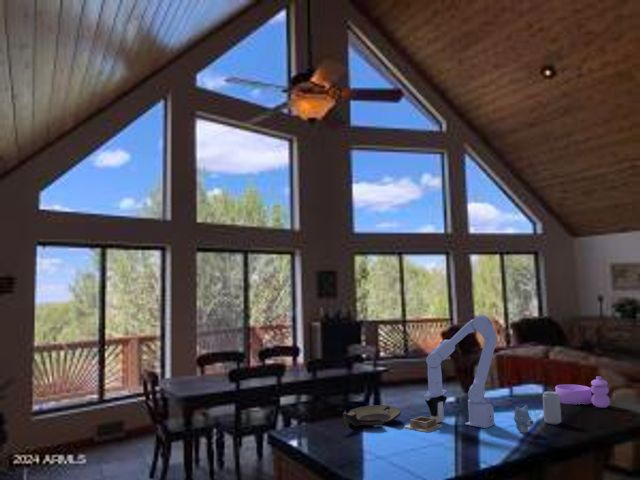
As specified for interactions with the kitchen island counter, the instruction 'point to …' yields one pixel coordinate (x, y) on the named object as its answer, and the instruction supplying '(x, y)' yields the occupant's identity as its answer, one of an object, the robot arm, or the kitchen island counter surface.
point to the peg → (439, 412)
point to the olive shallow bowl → (372, 415)
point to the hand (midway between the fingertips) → (436, 415)
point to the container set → (585, 393)
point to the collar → (423, 424)
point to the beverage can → (551, 407)
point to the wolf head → (522, 419)
